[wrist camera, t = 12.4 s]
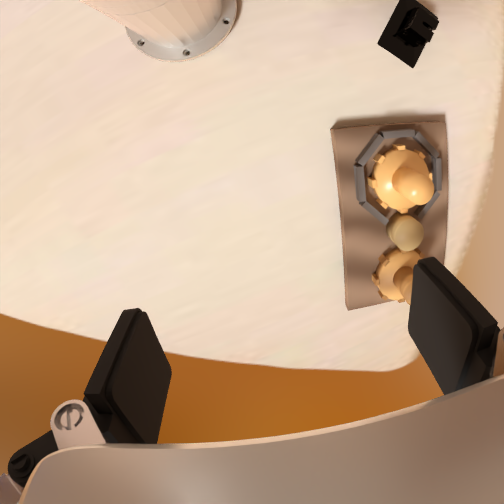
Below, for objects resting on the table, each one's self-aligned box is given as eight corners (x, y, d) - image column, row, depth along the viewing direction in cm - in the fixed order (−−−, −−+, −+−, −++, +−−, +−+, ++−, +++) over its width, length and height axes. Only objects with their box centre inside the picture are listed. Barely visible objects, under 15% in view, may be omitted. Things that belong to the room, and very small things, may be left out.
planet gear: (364, 147, 34) (385, 155, 28) (424, 141, 33) (451, 149, 28) (369, 213, 37) (389, 232, 32) (426, 204, 37) (450, 221, 31)
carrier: (330, 129, 34) (350, 135, 28) (439, 121, 34) (473, 127, 27) (345, 304, 45) (360, 337, 38) (436, 283, 44) (459, 311, 37)
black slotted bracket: (410, 82, 32) (429, 81, 28) (363, 49, 31) (377, 43, 27) (443, 15, 28) (462, 9, 23) (399, -19, 26) (415, -29, 22)
